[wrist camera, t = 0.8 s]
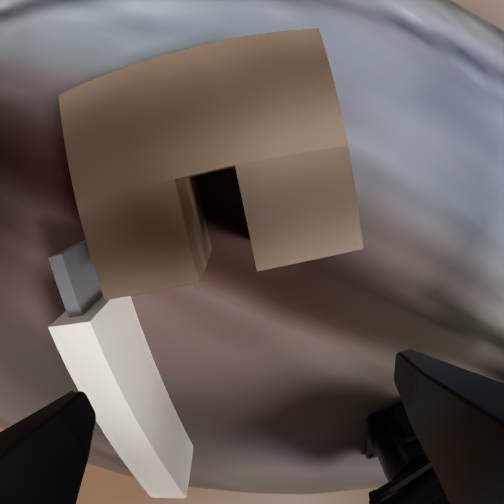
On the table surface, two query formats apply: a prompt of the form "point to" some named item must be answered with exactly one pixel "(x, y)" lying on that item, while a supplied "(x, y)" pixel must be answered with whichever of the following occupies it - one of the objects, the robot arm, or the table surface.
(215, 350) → the table surface
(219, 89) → the tan notched block
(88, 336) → the white curved bar
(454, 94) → the table surface
